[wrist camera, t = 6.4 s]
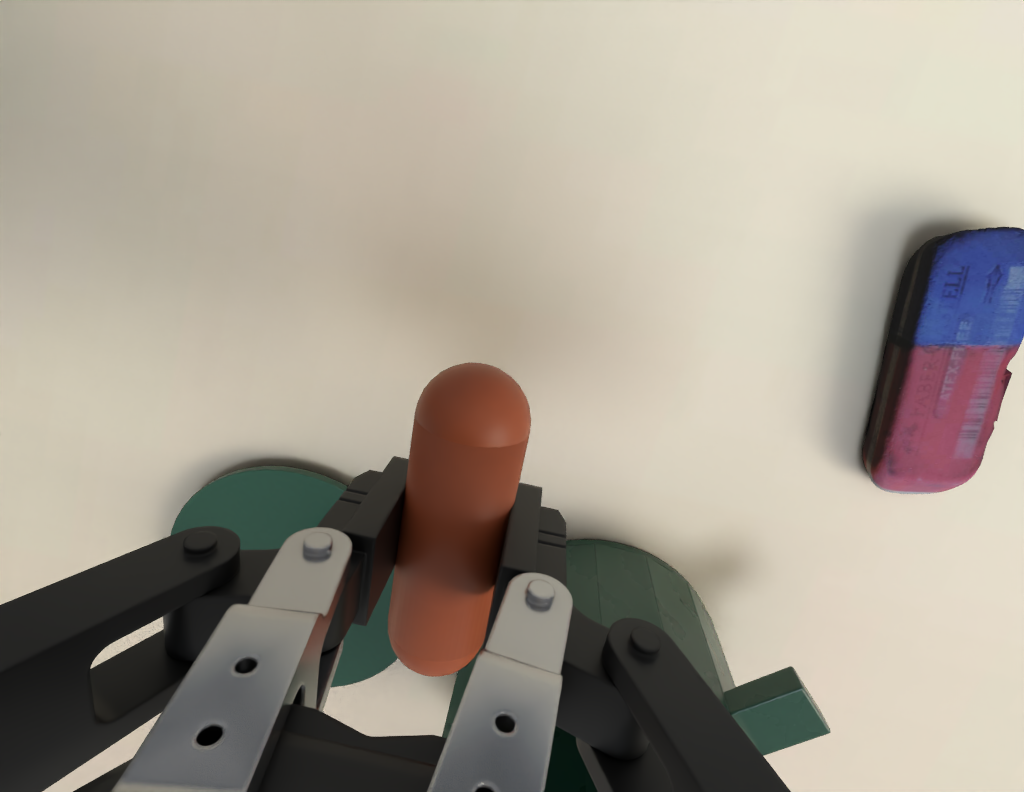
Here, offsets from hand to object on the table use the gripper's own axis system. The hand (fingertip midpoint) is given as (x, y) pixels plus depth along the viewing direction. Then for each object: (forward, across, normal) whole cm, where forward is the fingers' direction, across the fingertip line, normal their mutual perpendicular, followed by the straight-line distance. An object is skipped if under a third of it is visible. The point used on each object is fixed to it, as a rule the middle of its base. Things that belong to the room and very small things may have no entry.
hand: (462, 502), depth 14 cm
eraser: (+11, -17, -4) cm, 21 cm away
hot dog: (0, 0, 0) cm, 0 cm away
